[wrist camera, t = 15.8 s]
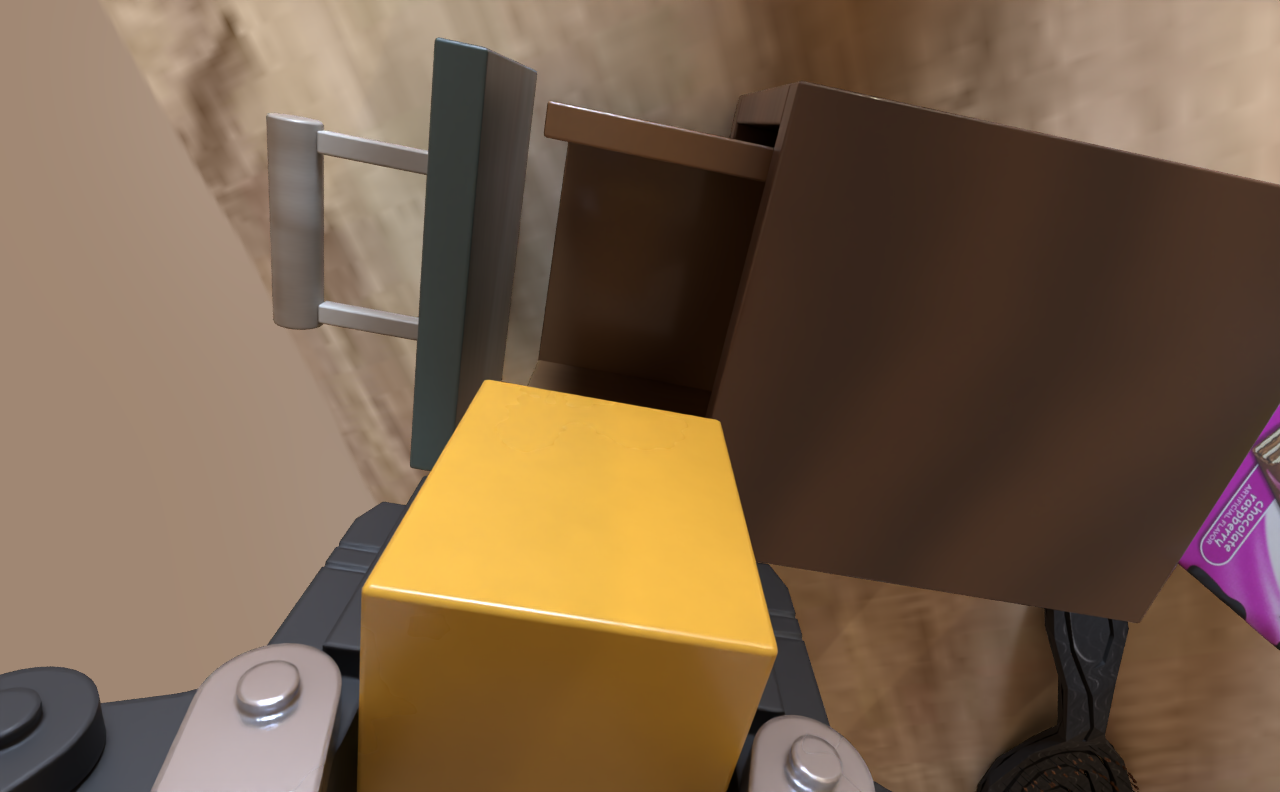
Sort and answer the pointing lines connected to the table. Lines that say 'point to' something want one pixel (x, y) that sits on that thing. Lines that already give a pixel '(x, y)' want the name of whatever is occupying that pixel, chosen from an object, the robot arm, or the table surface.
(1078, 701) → the hairbrush
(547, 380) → the drawer
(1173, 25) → the table surface
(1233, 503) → the candy bar box
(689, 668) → the yellow cube
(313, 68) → the table surface
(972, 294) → the cabinet
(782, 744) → the robot arm
